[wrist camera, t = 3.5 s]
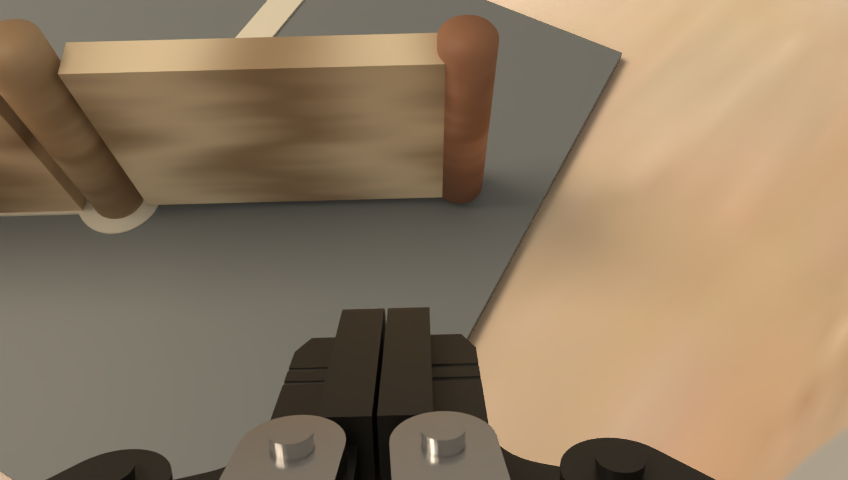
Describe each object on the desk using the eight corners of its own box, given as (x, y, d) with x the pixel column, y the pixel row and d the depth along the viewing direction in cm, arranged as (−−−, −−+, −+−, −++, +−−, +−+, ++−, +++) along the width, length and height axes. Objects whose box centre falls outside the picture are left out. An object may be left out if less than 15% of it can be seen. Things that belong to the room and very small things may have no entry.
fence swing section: (146, 212, 28) (49, 73, 21) (153, 171, 29) (62, 25, 22) (483, 202, 28) (501, 61, 21) (481, 163, 29) (496, 13, 22)
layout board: (293, 661, 22) (289, 662, 21) (-305, 269, 28) (-317, 263, 28) (619, 59, 32) (622, 51, 32) (131, -132, 38) (128, -141, 38)
